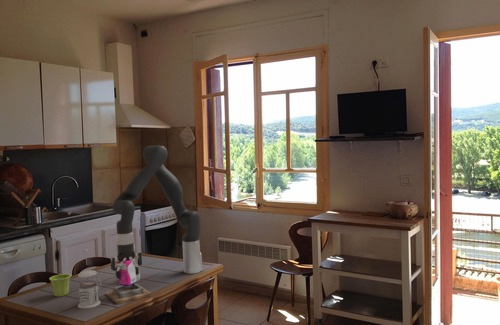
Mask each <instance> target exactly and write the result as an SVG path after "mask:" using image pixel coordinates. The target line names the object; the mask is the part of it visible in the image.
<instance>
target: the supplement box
mask: <svg viewBox="0 0 500 325" xmlns="http://www.w3.org/2000/svg"><path fill="white" fill-rule="evenodd" d="M133 260H134V261H135V262H136V260H135V258H134V259H133ZM133 260H127V261H124V262H122V263H123V265H122V267H121V268H120V270H119V271H120V279H118V284H119V286H130V285H132V284H134V283H136V284H137V282H138V281H136V269H135V265H134V264H133ZM120 263H121V262H120V261H119V260H117V264H120Z"/></svg>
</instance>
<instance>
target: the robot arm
mask: <svg viewBox="0 0 500 325" xmlns="http://www.w3.org/2000/svg"><path fill="white" fill-rule="evenodd" d="M142 153H143V154H142V155H143V159H144V161H145V163H146V166H144V168H142V169H141V170H140V171H139V172H138V173H137V174H135V176H134V177H132V179H131V180H130V182H129V183H128V185H127V186H126V188H125V190H124V191H123V192H122V193H120V194H119V195H118V197H117V198H116V199H115V200H114V202H113V203H112V211H113V213H114V214H116V215H119V216H120V215H121V216H120V220H118V221H117V222H116V248H117V249H116V250H117V256H111V257H110V269H111V271H113V272H115V278H117V279H118V280H119V279H120V271H119V270H120V268H121V267H122V265H123V263H122V262H124V261H127V260H133V259H135V257H136V258H137V262H136V260H135V261H134V260H133V264H134V265H135V269H136V275H137V274H138V267H140V266H142V265H143V258H142V253H141V252H140V251H138V252H136V253H135V251H134V244H135V240H134V239H135V238H134V234H133V221H134V215H135V204H134V203H133V201H134V200H137V199H138V198H139V197H140V195H141V194H142V192H143V190H144V189H145V187H146V186H147V184H148V182H150V180H151V179H152V178H153V176H155V179H156V180H157V182H158V183H159V185H160V186H161V188H162V191H163V193H164V195H165V196H166V199H167V200H168V202H169V204H170V206H171V207H172V209H173V210H172V211H173V212H174V215H175V218H176V220H177V222H178V224H179V225H180V226H181V227H182V228H185V229H187V232H186V233H185V234H183V235H182V240H181V241H182V258H183V272H184V273H185V274H187V275H188V274H192V275H193V274H198V273H200V272H202V271H203V258H202V257H203V255H202V253H201V247H200V246H201V245H200V244H201V243H200V237H201V215H200V213H198V211H194V210H188V209H187V207H186V206H185V204H184V201H183V199H184V190H183V187H182V186H181V183H180V181H179V180H178V178H177V177H176V176H175V174H173V173H172V172H171V171H170V170H169V169H167V168H166V166H165V165H164V163H165V162H166V161H167V158H168V154H169V152H168V150H167V148H166V147H165V146H164V145H160V144H158V145H147V146H145V147H144V149H143V152H142ZM117 261H120V262H121V263H120V264H118V263H117ZM116 263H117V264H116Z"/></svg>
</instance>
